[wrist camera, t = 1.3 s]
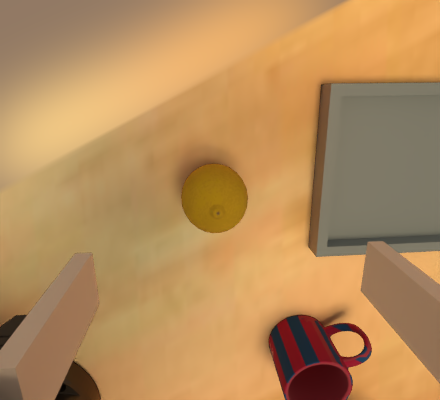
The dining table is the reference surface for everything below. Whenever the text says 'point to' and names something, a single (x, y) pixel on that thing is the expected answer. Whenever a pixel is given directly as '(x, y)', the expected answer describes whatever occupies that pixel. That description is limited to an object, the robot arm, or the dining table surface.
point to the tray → (377, 168)
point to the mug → (313, 359)
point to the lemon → (214, 198)
